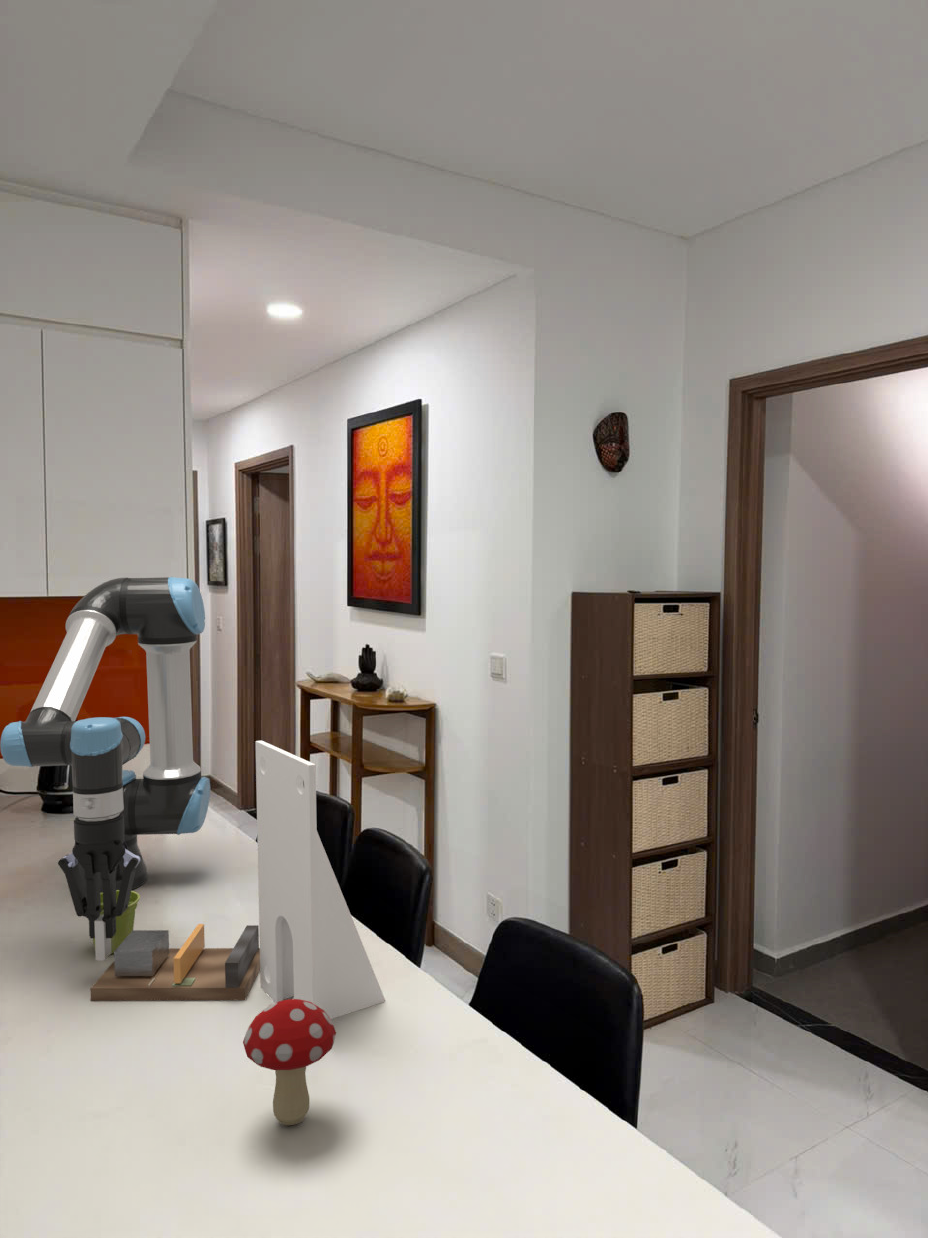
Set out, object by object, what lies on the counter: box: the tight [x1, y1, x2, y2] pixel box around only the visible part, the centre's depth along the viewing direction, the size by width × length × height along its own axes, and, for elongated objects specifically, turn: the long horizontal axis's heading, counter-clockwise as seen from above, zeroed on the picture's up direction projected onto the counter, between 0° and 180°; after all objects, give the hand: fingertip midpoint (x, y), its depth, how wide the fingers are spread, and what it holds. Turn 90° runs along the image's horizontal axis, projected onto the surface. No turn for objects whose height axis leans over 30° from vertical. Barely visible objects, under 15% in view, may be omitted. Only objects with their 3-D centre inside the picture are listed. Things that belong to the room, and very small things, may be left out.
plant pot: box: [92, 890, 141, 955], centre depth 157 cm, size 9×9×9 cm
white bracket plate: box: [255, 740, 386, 1020], centre depth 137 cm, size 20×14×40 cm
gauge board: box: [90, 924, 260, 1002], centre depth 145 cm, size 14×24×6 cm, turn 90°
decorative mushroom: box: [242, 998, 337, 1126], centre depth 108 cm, size 11×11×15 cm
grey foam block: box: [113, 929, 170, 976], centre depth 145 cm, size 8×6×4 cm
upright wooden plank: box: [173, 923, 206, 983], centre depth 145 cm, size 13×1×4 cm, turn 0°
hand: (103, 956), depth 145 cm, fingers closed
